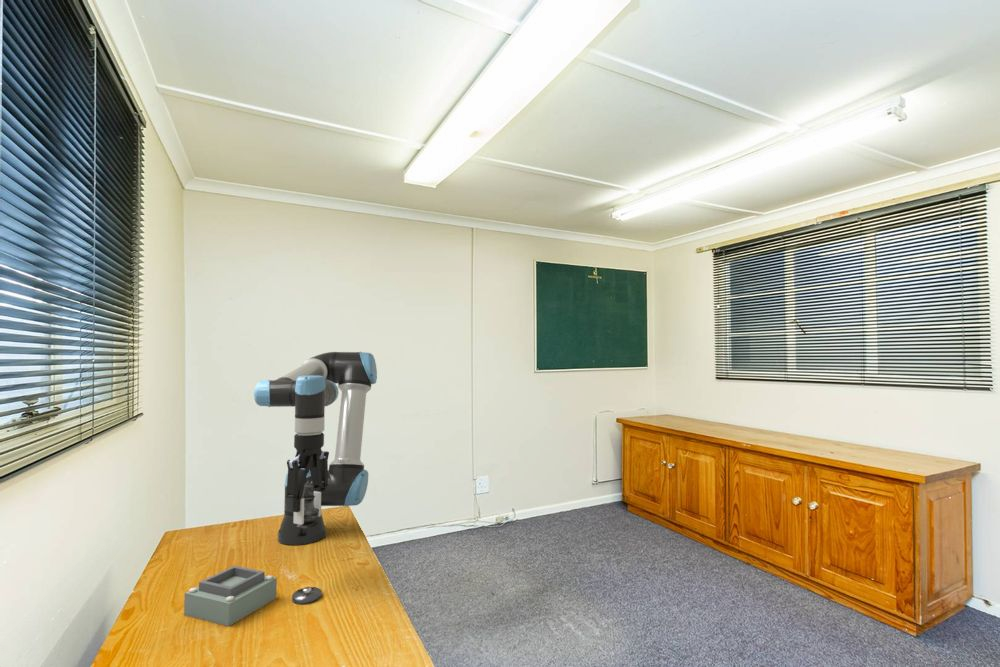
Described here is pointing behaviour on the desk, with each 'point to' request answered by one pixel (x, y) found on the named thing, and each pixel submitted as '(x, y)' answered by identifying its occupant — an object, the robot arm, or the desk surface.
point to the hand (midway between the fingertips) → (307, 519)
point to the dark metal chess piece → (309, 507)
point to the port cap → (306, 595)
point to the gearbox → (230, 595)
